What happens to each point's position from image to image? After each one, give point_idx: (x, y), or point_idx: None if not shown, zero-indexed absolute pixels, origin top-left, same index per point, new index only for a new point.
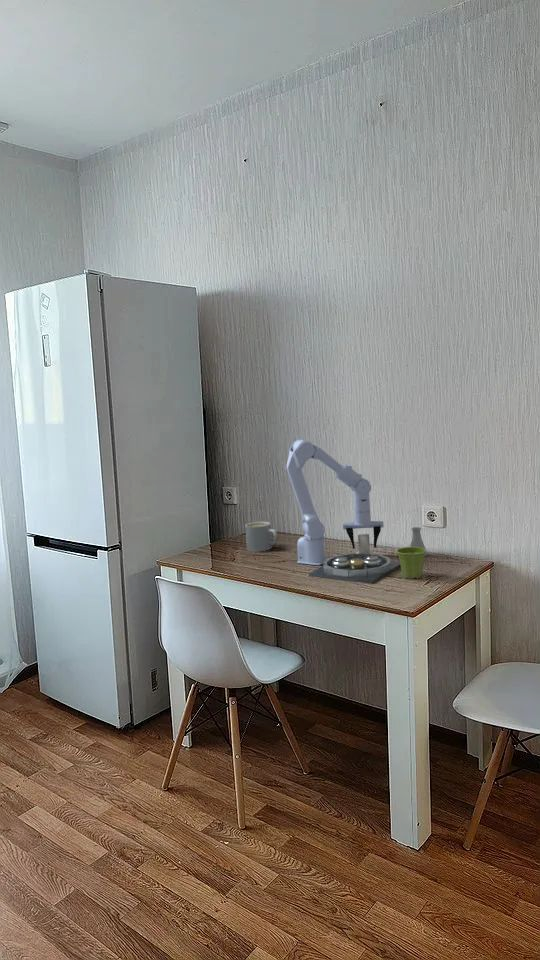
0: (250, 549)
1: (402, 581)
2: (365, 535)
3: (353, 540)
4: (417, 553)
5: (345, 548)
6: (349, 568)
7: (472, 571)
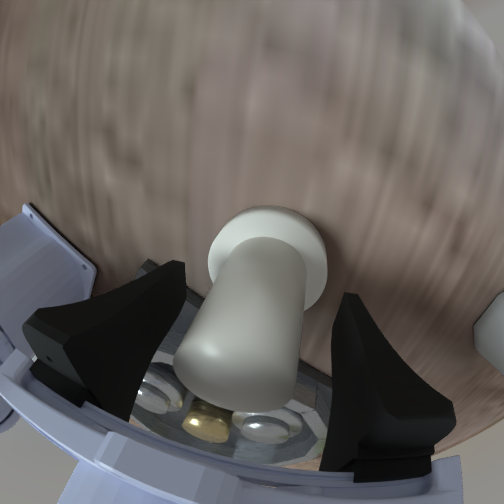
0: None
1: (311, 464)
2: (249, 399)
3: (153, 351)
4: None
5: (163, 10)
6: (188, 409)
7: (466, 439)
